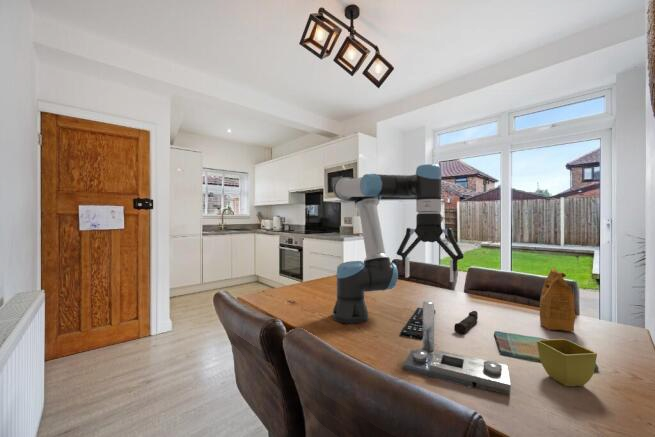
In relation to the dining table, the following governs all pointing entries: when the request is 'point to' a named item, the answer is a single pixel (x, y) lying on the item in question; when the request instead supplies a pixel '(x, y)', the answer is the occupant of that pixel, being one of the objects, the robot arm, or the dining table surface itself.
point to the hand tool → (466, 323)
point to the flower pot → (567, 361)
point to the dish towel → (519, 346)
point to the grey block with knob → (473, 371)
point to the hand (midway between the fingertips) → (428, 279)
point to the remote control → (414, 325)
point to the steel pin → (428, 326)
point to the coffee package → (557, 303)
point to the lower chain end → (421, 364)
